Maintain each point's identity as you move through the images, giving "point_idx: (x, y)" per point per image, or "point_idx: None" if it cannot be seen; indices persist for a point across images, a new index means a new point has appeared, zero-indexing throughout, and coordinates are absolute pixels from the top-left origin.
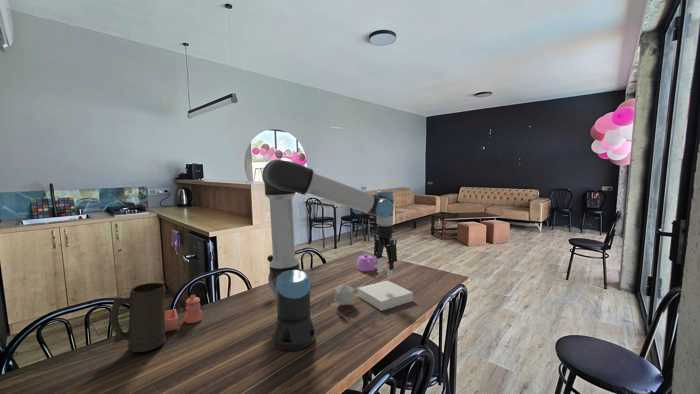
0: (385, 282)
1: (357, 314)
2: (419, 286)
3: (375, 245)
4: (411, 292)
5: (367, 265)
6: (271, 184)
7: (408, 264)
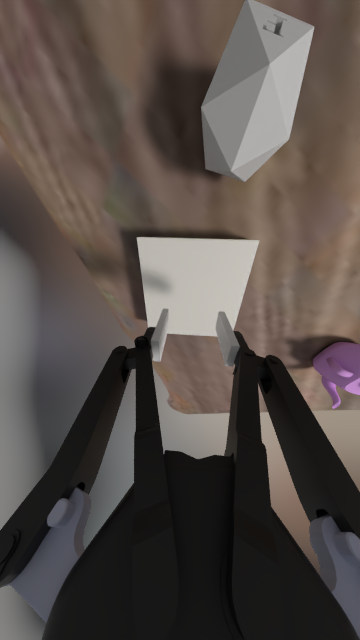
0: None
1: (155, 147)
2: (193, 366)
3: (303, 427)
4: None
5: (337, 362)
6: None
7: None
